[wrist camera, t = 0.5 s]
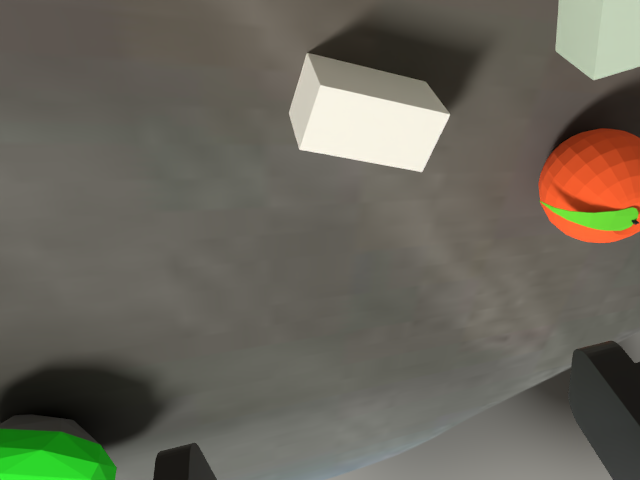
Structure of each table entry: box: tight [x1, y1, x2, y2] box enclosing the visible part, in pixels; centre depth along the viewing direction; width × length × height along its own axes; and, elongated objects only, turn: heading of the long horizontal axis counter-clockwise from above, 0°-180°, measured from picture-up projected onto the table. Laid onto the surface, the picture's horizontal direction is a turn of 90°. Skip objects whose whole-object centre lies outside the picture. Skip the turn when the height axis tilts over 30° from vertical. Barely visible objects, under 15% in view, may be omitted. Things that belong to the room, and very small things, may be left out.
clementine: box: [538, 128, 640, 243], centre depth 33 cm, size 8×7×7 cm
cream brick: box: [289, 53, 450, 172], centre depth 29 cm, size 7×4×4 cm, turn 72°
